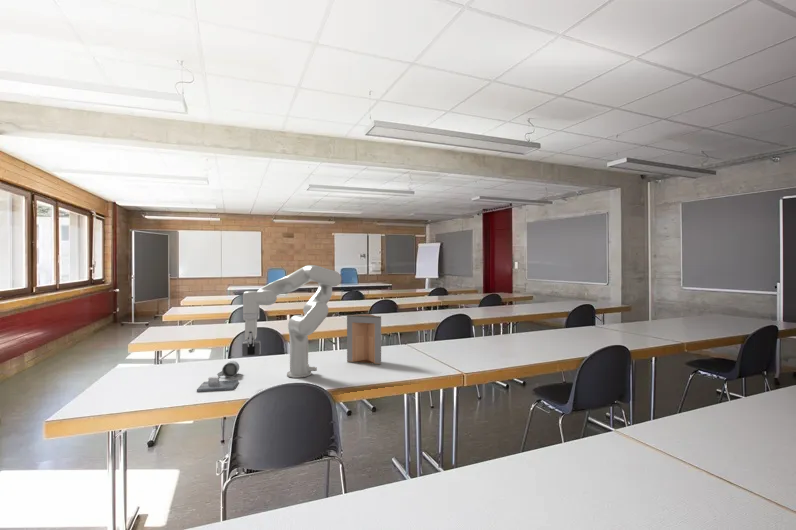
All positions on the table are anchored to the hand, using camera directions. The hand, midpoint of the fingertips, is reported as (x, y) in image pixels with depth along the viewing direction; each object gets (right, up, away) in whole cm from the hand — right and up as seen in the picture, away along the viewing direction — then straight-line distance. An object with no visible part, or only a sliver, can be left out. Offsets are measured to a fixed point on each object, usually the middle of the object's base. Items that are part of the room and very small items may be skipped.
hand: (251, 352), depth 201 cm
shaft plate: (-14, -16, -4) cm, 22 cm away
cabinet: (+53, -15, +43) cm, 70 cm away
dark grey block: (0, -1, 0) cm, 1 cm away
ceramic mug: (-17, -16, +14) cm, 27 cm away
